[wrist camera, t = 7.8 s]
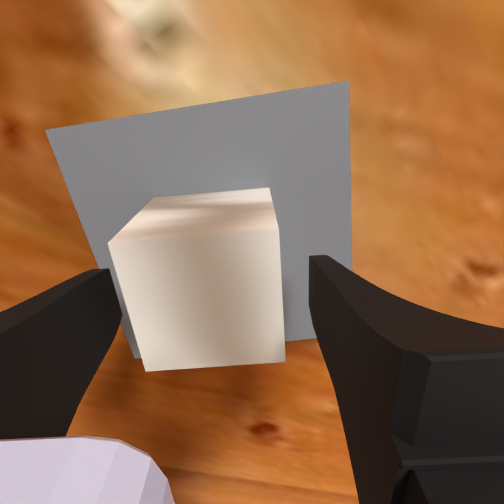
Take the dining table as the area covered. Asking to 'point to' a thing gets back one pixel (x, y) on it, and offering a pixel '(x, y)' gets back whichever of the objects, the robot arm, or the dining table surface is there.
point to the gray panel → (223, 176)
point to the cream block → (203, 280)
